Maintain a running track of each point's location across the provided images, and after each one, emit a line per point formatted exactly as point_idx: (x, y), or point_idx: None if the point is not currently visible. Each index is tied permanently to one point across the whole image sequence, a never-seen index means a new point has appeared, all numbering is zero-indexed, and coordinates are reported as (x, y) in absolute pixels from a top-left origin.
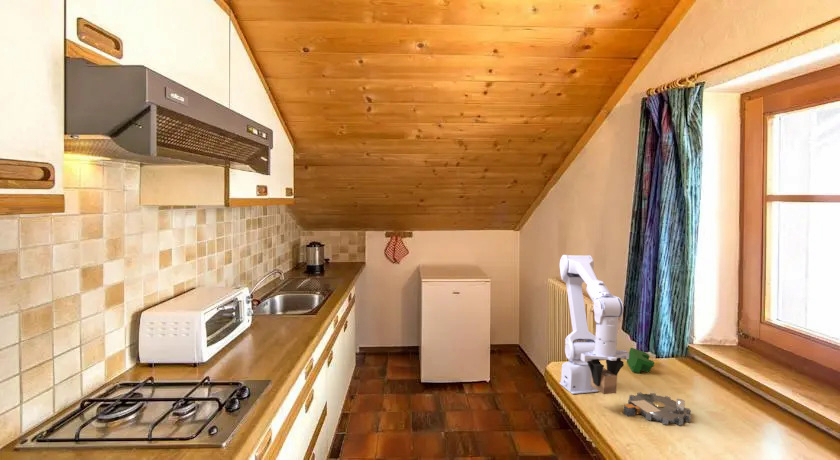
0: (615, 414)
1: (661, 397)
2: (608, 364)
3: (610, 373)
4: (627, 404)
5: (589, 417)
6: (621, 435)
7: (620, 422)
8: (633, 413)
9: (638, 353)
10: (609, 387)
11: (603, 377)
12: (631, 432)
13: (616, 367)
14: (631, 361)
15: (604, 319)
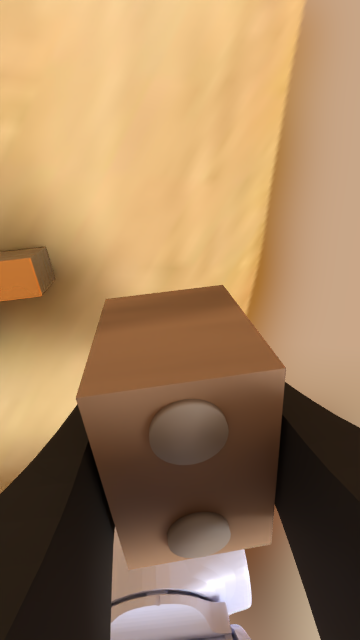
0: (105, 270)
1: None
2: (101, 628)
3: (130, 465)
4: (17, 296)
5: (256, 250)
6: (194, 26)
7: (120, 186)
8: (4, 253)
9: None
10: (179, 312)
11: (278, 380)
12: (110, 56)
13: (38, 564)
14: None
15: None
